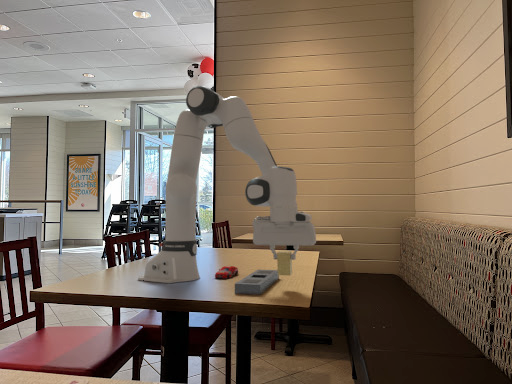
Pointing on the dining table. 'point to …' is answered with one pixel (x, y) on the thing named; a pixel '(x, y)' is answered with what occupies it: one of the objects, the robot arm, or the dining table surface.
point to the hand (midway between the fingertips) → (284, 259)
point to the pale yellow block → (284, 263)
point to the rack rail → (256, 282)
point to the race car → (227, 272)
